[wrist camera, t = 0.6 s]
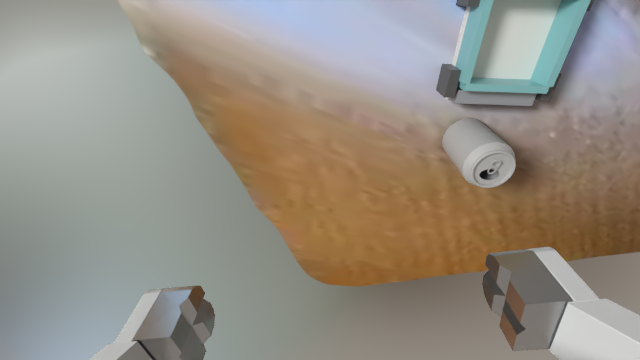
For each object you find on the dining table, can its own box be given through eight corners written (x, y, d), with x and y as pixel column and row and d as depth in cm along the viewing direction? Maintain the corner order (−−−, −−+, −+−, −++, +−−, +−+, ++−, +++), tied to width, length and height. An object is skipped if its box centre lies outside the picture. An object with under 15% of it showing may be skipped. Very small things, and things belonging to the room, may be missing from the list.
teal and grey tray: (466, -39, 41) (484, -42, 36) (585, -34, 41) (619, -37, 36) (434, 96, 50) (445, 107, 46) (531, 99, 50) (552, 110, 46)
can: (435, 154, 56) (460, 190, 46) (447, 114, 52) (477, 145, 42) (476, 156, 56) (509, 194, 46) (490, 117, 52) (530, 149, 42)
